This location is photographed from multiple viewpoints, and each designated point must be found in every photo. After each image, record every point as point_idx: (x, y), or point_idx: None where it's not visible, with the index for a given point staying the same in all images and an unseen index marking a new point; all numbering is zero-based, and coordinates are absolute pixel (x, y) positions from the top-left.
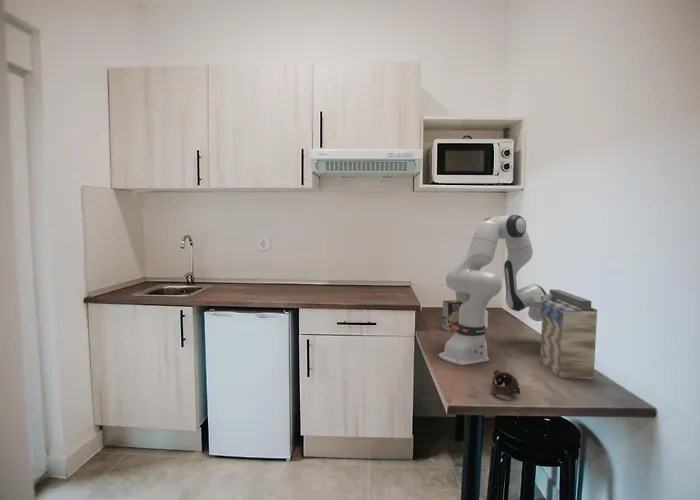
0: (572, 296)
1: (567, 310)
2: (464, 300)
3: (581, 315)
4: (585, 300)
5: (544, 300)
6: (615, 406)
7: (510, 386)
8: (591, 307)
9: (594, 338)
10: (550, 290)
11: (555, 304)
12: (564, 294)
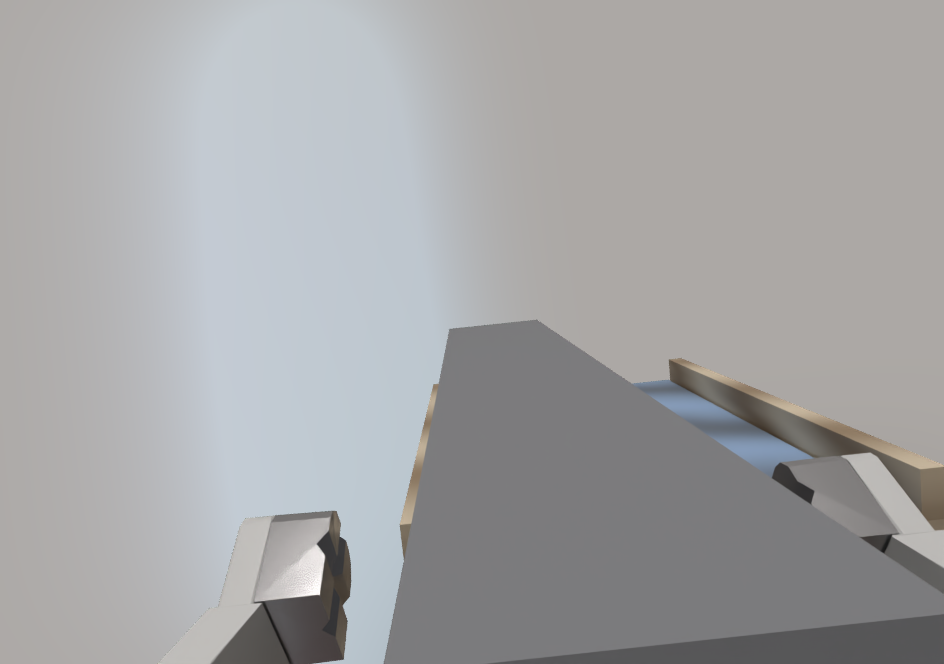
0: (519, 347)
1: (647, 387)
2: None
3: None
4: (486, 327)
5: (901, 454)
6: None
7: None
8: (433, 398)
9: None
10: (892, 599)
11: (734, 386)
12: (576, 362)
